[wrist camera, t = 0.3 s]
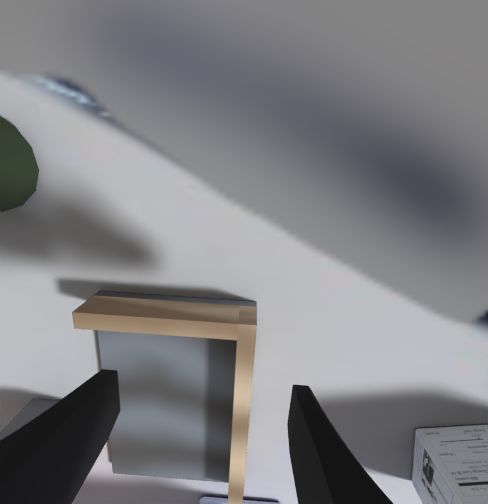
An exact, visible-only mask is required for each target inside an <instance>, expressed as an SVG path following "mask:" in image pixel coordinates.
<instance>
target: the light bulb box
mask: <svg viewBox="0 0 488 504" xmlns="http://www.w3.org/2000/svg"><path fill="white" fill-rule="evenodd" d="M412 484H413V485H414V487H415V489H416V491H417V493H418V495H419V497H420V499H421V501H422V503H423V504H488V425H472V426H454V427H438V428H420V429H416V433H415V446H414V459H413V472H412Z"/></svg>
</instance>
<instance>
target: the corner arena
mask: <svg viewBox="0 0 488 504" xmlns="http://www.w3.org/2000/svg"><path fill="white" fill-rule="evenodd" d="M72 316H73V323H74V328H75V329H88V330H97V331H98V340H99V349H100V358H101V368H102V369H107V370H117V371H118V384H119V396H120V409H121V410H120V413H119V415H118V418H117V420H116V422H115V425H114V427H113V429H112V431H111V434H110V436H109V441H110V450H111V459H112V468H113V473H117V474H129V475H141V476H153V477H165V478H177V479H189V480H201V481H213V482H225V483H229V490H228V504H243V491H244V479H245V466H246V454H247V441H248V428H249V416H250V403H251V391H252V378H253V366H254V353H255V340H256V328H257V306H256V302H252V301H238V300H224V299H209V298H195V297H180V296H166V295H151V294H137V293H122V292H108V291H99V292H97V293H96V294H95V295H94V296H92V297H91V298H90V299H88V300H87V301H86V302H85V303H83V304H82V305H81V306H79V307H78V308H77V309H76V310H74V311H73V312H72Z"/></svg>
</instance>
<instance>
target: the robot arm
mask: <svg viewBox="0 0 488 504" xmlns="http://www.w3.org/2000/svg"><path fill="white" fill-rule="evenodd" d="M120 410H121V409H120V396H119V384H118V371H117V370H107V369H102V370H101V371H100V372H98V373H97V374H95V375H94V376H93V377H91V378H90V379H89V380H87V381H86V382H85V383H83V384H82V385H81V386H79V387H78V388H77V389H75V390H74V391H72V392H71V393H70V394H68V395H67V396H66V397H64V398H63V399H61V400H60V401H59V402H57V403H56V404H55V405H53V406H52V407H50V408H49V409H47V410H46V411H45V412H43V413H42V414H40V415H39V416H37V417H36V418H34V419H33V420H31V421H30V422H28V423H27V424H25V425H24V426H22V427H21V428H19V429H18V430H16V431H15V432H13V433H12V434H10V435H8V436H7V437H5V438H3V439H2V440H0V504H72V502H73V500H74V498H75V496H76V495H77V493H78V491H79V489H80V488H81V486H82V484H83V482H84V481H85V479H86V477H87V475H88V474H89V472H90V470H91V468H92V467H93V465H94V463H95V461H96V460H97V458H98V456H99V454H100V452H101V451H102V449H103V447H104V445H105V443H106V442H107V440H108V438H109V436H110V434H111V431H112V429H113V427H114V425H115V422H116V420H117V418H118V415H119V413H120ZM288 438H289V451H290V458H291V464H292V469H293V475H294V481H295V487H296V492H297V498H298V504H393V503H392V502H391V500H390V499H389V498H388V497H387V496H386V495H385V494H384V493H383V491H382V490H381V489H380V488H379V487H378V486H377V484H376V483H375V482H374V481H373V480H372V478H371V477H370V476H369V475H368V474H367V472H366V471H365V470H364V468H363V467H362V466H361V465H360V463H359V462H358V461H357V459H356V458H355V457H354V455H353V454H352V453H351V451H350V450H349V449H348V447H347V446H346V444H345V443H344V442H343V440H342V439H341V437H340V436H339V434H338V433H337V431H336V430H335V428H334V427H333V425H332V424H331V422H330V421H329V419H328V418H327V416H326V414H325V413H324V411H323V409H322V408H321V406H320V405H319V403H318V401H317V399H316V398H315V396H314V394H313V392H312V391H311V389H310V387H309V386H303V385H293V388H292V396H291V403H290V410H289V417H288ZM199 504H228V499H226V498H214V497H202V498H201V499H200V503H199ZM243 504H280V503H274V502H262V501H250V500H243Z"/></svg>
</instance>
